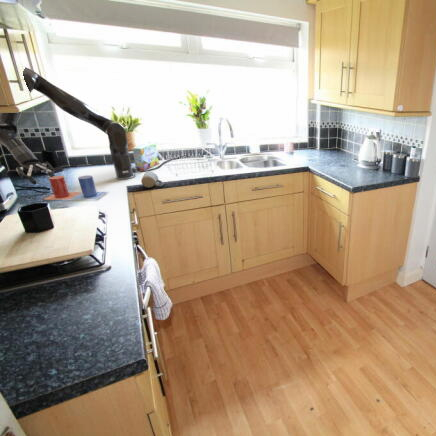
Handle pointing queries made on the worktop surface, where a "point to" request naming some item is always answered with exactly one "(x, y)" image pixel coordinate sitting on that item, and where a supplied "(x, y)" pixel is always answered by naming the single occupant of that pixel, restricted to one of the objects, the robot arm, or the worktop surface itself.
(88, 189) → the blue upright cylinder
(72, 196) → the sorting board
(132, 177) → the robot arm
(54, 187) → the red upright cylinder
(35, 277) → the worktop surface
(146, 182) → the ceramic mug
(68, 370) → the worktop surface
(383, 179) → the worktop surface
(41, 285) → the worktop surface
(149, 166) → the snack box
